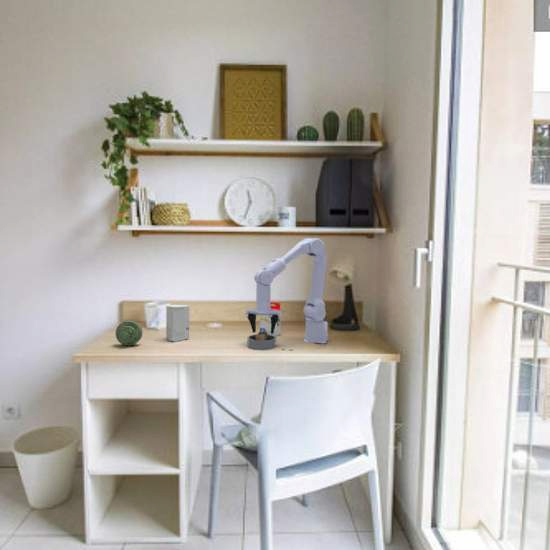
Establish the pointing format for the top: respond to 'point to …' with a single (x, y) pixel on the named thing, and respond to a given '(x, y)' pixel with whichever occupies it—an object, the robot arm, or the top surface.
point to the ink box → (266, 321)
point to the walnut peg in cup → (260, 337)
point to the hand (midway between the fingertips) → (263, 332)
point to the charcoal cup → (261, 343)
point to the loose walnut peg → (264, 334)
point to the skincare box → (177, 322)
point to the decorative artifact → (129, 332)
